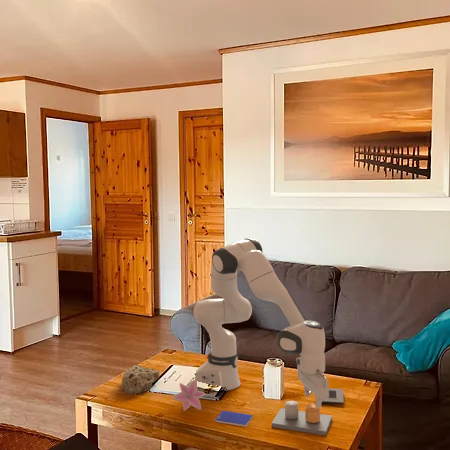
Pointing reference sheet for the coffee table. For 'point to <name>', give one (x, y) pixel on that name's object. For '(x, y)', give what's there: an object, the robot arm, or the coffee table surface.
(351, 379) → the coffee table surface
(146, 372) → the rock
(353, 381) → the coffee table surface
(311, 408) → the orange rounded cylinder
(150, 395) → the coffee table surface
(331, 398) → the electrical outlet
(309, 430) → the plate
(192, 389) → the lily
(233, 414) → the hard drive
